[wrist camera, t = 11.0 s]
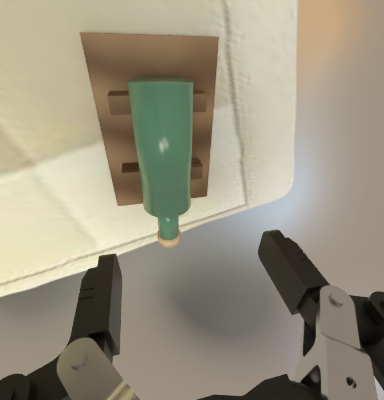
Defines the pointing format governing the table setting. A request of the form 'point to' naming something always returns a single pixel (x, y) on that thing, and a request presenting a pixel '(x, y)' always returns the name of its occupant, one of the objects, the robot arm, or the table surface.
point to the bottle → (163, 148)
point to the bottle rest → (120, 104)
